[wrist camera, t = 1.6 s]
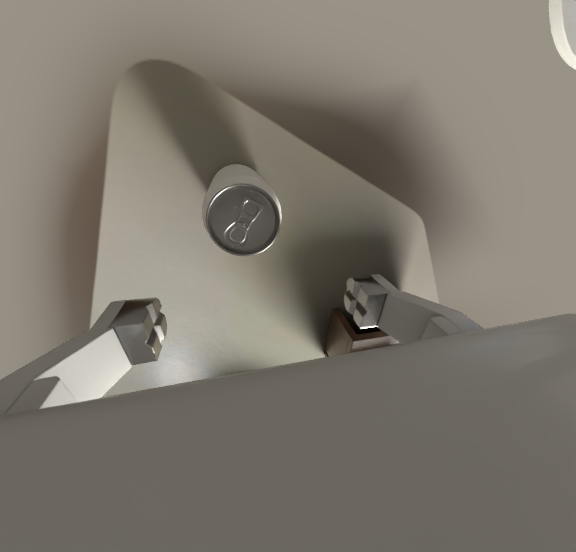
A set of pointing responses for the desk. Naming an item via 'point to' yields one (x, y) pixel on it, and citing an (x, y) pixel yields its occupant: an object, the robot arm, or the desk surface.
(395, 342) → the wooden doll chair
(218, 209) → the can
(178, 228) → the desk surface
